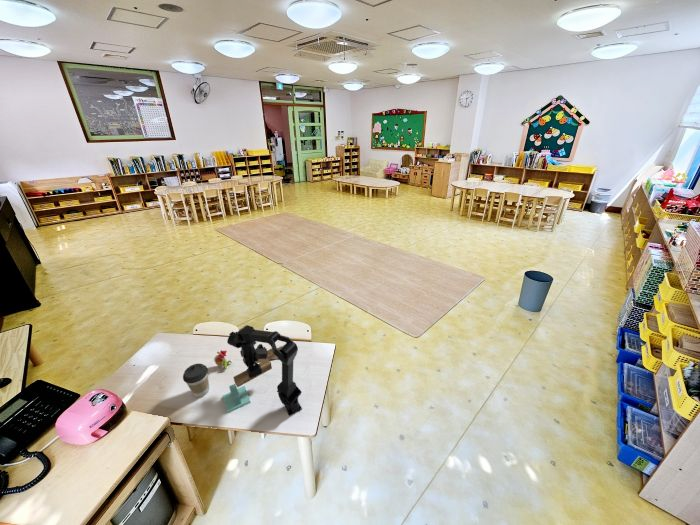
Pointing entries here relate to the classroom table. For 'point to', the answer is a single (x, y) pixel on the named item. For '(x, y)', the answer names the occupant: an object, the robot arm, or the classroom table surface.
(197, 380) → the coffee cup
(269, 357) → the wooden fragment
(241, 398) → the fulcrum block
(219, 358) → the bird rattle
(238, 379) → the walnut bar
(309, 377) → the classroom table surface
